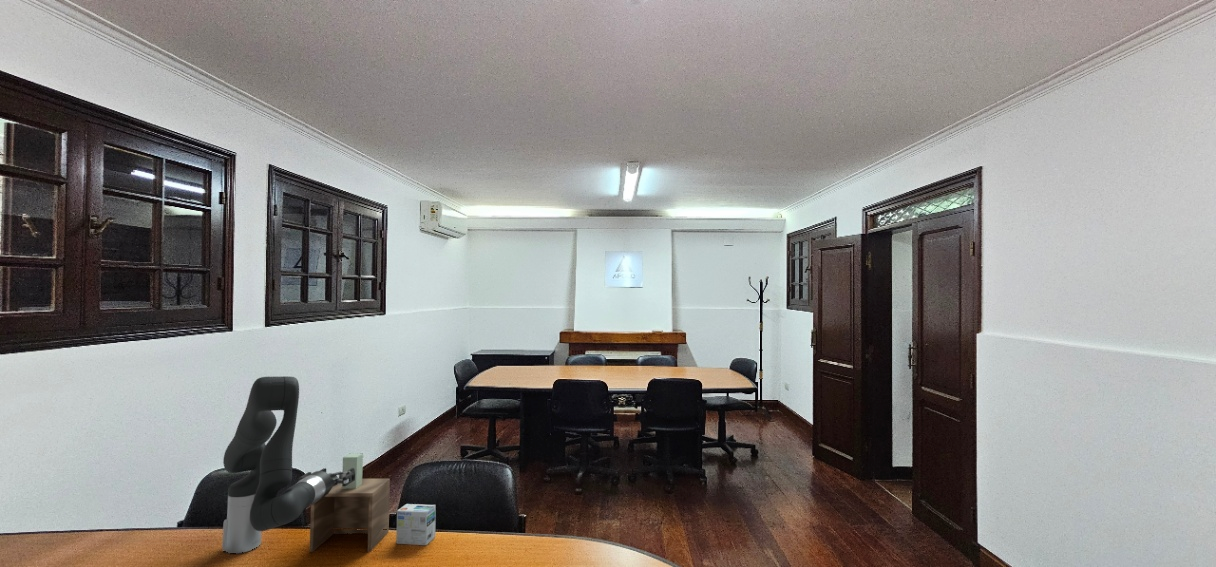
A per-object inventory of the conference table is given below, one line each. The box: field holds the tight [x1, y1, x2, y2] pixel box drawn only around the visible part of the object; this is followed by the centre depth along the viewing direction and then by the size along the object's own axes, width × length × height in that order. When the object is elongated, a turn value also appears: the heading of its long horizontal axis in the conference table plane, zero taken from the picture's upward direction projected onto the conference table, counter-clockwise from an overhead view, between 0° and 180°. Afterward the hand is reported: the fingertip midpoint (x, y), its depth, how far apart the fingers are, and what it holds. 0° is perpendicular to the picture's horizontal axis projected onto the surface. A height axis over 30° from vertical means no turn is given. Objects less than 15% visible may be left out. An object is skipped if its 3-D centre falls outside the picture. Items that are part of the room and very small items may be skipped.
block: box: [341, 452, 364, 489], centre depth 168 cm, size 4×4×10 cm
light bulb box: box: [395, 503, 437, 546], centre depth 169 cm, size 11×7×11 cm, turn 84°
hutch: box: [308, 478, 391, 553], centre depth 168 cm, size 19×14×18 cm
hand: (339, 471), depth 159 cm, fingers open, 8 cm apart
